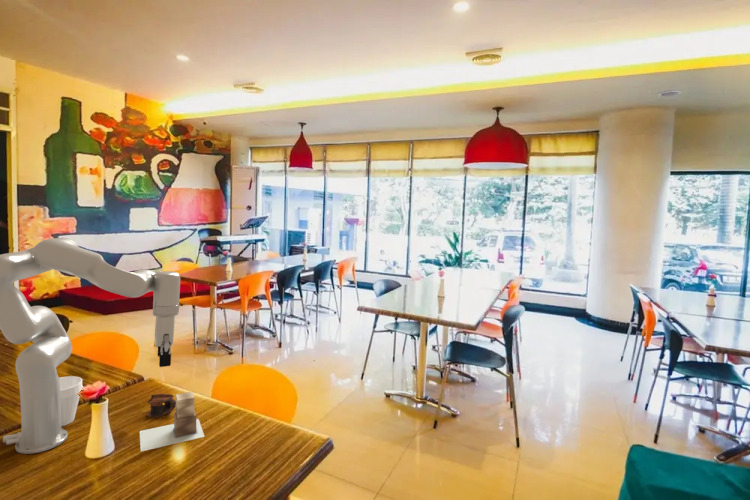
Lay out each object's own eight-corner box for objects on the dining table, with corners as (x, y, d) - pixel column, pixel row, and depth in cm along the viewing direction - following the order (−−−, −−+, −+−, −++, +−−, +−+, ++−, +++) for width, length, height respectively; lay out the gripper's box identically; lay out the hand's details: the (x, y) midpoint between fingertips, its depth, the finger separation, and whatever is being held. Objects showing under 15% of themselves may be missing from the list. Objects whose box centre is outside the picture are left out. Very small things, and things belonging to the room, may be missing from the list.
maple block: (177, 418, 130) (177, 400, 130) (175, 411, 134) (175, 394, 134) (194, 415, 133) (194, 397, 132) (192, 408, 137) (192, 391, 136)
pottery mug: (138, 419, 143) (142, 394, 146) (159, 420, 151) (163, 396, 154) (164, 417, 139) (168, 392, 142) (185, 418, 147) (188, 394, 150)
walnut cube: (176, 437, 130) (176, 419, 129) (174, 428, 135) (174, 411, 134) (196, 432, 133) (196, 415, 133) (193, 424, 138) (193, 407, 138)
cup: (57, 434, 130) (56, 394, 129) (28, 428, 133) (26, 388, 132) (92, 416, 142) (91, 378, 141) (65, 410, 145) (63, 374, 144)
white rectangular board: (140, 454, 122) (140, 451, 122) (139, 433, 133) (139, 430, 133) (204, 438, 131) (204, 436, 131) (198, 420, 142) (198, 418, 142)
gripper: (151, 304, 136) (149, 353, 137) (154, 317, 121) (151, 372, 123) (176, 303, 140) (174, 351, 141) (181, 315, 125) (179, 369, 126)
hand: (163, 360), depth 132 cm, fingers open, 9 cm apart
